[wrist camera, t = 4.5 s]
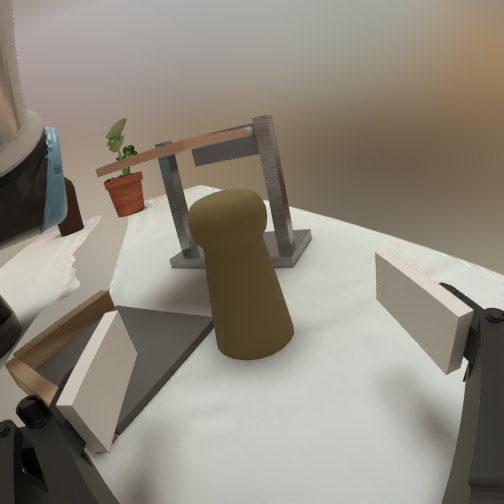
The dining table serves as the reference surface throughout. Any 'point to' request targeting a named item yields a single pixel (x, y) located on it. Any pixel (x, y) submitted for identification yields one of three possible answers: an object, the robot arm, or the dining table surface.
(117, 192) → the potted plant
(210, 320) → the mat
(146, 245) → the dining table surface
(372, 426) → the dining table surface
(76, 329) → the wooden picture frame
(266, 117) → the flap stand
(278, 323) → the cork
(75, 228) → the olive oil
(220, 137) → the drop flap
